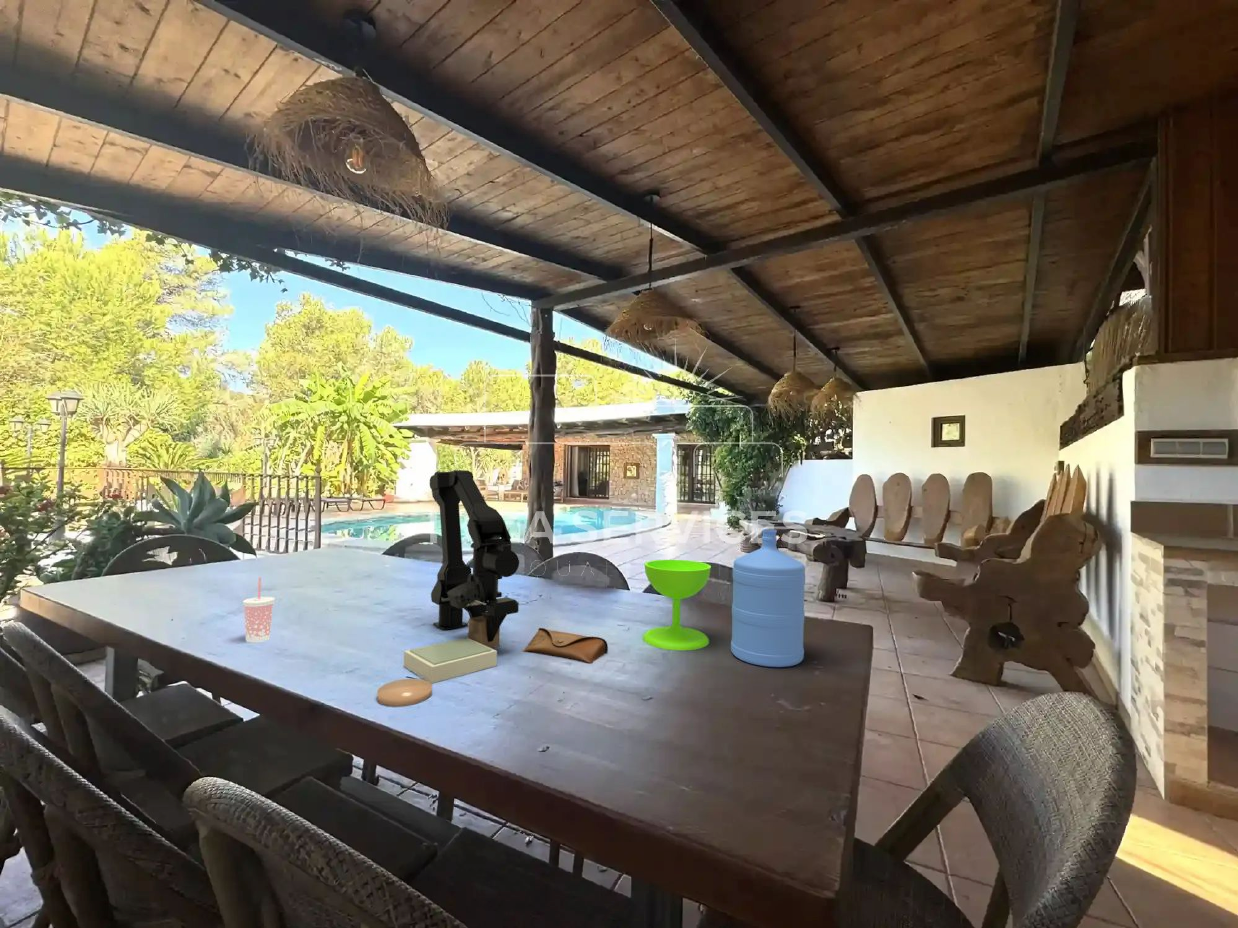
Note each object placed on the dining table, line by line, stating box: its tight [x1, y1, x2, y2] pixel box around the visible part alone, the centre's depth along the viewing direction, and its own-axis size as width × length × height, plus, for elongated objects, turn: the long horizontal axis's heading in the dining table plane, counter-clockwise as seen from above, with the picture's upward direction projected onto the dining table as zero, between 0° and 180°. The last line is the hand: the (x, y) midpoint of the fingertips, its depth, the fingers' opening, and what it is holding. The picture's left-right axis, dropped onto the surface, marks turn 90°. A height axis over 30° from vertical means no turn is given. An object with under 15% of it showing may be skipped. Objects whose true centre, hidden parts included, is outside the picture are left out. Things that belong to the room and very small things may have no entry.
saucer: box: [376, 678, 433, 707], centre depth 97 cm, size 9×9×1 cm
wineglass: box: [642, 559, 712, 651], centre depth 133 cm, size 16×16×18 cm
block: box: [467, 616, 501, 649], centre depth 125 cm, size 5×5×6 cm
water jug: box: [730, 529, 806, 668], centre depth 123 cm, size 16×16×28 cm
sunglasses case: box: [522, 627, 609, 664], centre depth 123 cm, size 18×7×7 cm
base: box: [403, 637, 498, 684], centre depth 112 cm, size 12×14×3 cm
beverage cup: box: [242, 577, 276, 643], centre depth 126 cm, size 6×6×14 cm
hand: (483, 638), depth 125 cm, fingers closed on block, 5 cm apart
